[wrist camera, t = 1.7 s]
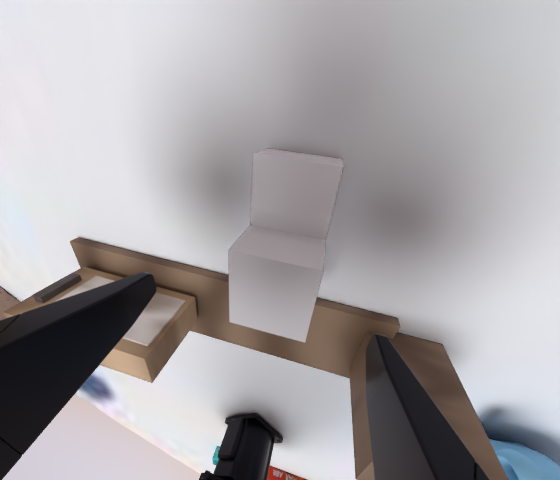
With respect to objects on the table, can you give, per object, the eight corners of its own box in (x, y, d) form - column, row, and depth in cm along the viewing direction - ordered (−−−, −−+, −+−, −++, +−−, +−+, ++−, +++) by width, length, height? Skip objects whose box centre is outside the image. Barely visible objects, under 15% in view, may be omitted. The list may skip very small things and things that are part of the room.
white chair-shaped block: (341, 158, 13) (346, 180, 8) (314, 277, 17) (305, 342, 12) (269, 148, 13) (226, 161, 8) (260, 264, 18) (229, 322, 13)
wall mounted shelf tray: (194, 292, 19) (142, 353, 14) (197, 319, 21) (152, 382, 16) (81, 261, 21) (-2, 306, 16) (93, 289, 23) (21, 337, 17)
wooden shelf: (452, 332, 16) (537, 482, 9) (408, 387, 20) (446, 521, 13) (78, 237, 21) (-48, 291, 14) (101, 297, 25) (12, 362, 18)
